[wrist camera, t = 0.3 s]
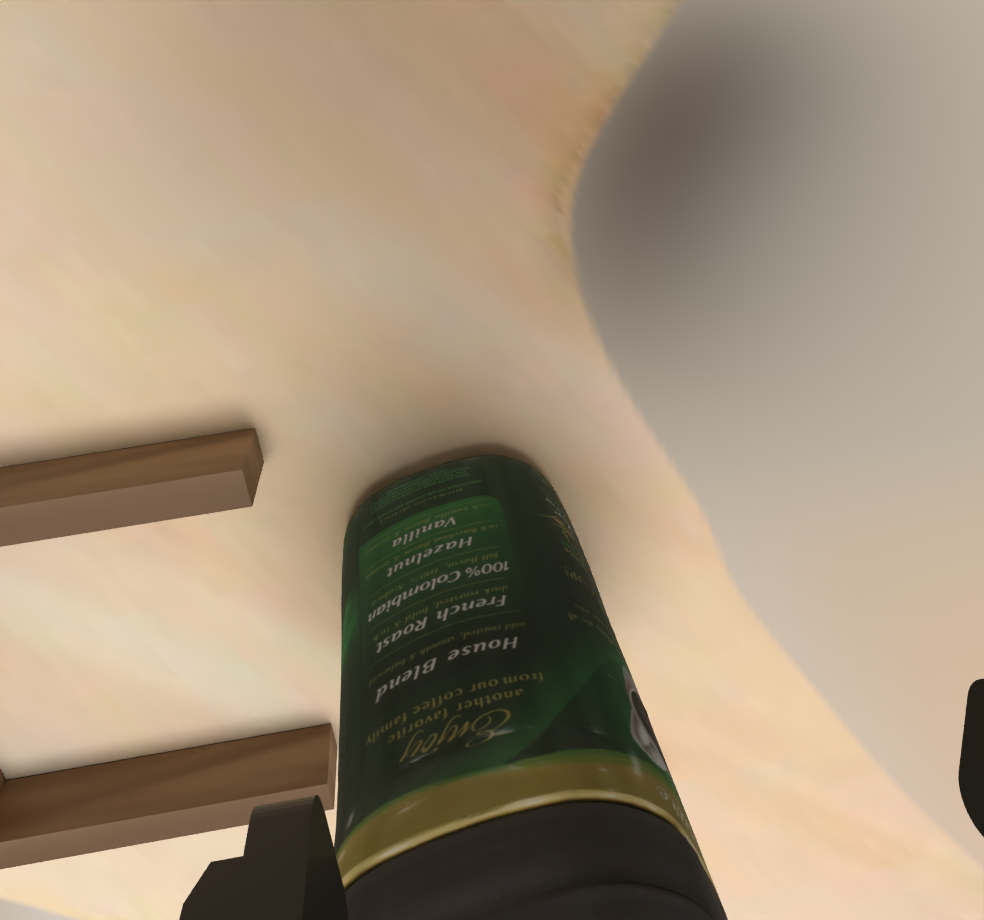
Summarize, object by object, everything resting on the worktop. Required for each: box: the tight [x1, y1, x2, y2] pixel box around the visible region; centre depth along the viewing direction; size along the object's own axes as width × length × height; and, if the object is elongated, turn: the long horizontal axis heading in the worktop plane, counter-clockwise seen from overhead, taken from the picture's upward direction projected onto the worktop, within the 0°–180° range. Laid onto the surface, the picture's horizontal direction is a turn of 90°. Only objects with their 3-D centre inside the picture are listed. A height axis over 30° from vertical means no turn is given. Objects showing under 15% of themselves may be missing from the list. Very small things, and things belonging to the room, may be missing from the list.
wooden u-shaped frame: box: [0, 429, 337, 869], centre depth 29 cm, size 13×13×3 cm
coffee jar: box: [334, 455, 728, 920], centre depth 23 cm, size 10×8×19 cm
